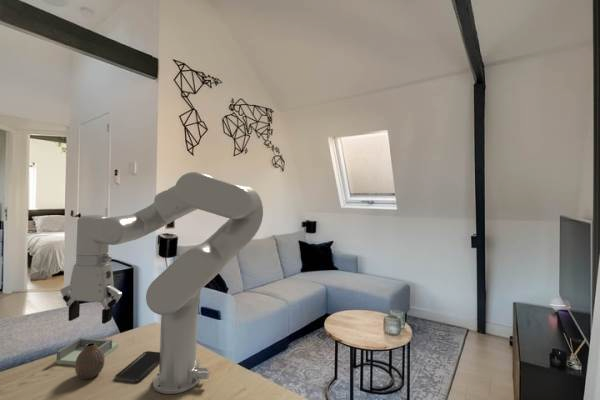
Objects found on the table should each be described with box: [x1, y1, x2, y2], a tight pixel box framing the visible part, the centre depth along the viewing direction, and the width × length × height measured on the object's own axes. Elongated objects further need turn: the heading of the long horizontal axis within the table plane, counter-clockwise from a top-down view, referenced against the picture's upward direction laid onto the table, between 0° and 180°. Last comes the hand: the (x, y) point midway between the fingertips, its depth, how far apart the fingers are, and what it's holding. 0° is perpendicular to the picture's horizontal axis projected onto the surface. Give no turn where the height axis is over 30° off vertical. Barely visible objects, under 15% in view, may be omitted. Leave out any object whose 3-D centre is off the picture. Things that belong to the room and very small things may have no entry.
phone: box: [114, 350, 160, 384], centre depth 94 cm, size 8×1×15 cm
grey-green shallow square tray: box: [56, 337, 119, 366], centre depth 99 cm, size 11×12×4 cm
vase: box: [74, 343, 105, 380], centre depth 89 cm, size 7×7×9 cm
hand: (90, 320), depth 89 cm, fingers open, 9 cm apart
